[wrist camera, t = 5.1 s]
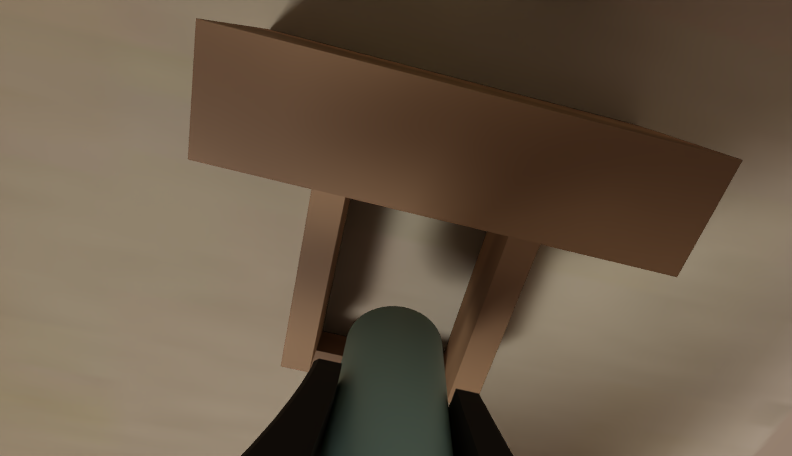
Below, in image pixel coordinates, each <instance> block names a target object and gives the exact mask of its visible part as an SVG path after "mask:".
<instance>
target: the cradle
mask: <svg viewBox="0 0 792 456" xmlns="http://www.w3.org/2000/svg"><path fill="white" fill-rule="evenodd" d="M188 159H189V160H193V161H197V162H201V163H205V164H209V165H213V166H218V167H222V168H226V169H230V170H234V171H238V172H243V173H247V174H251V175H255V176H259V177H263V178H267V179H272V180H276V181H280V182H284V183H288V184H292V185H297V186H301V187H305V188H309V189H312V190H311V196H310V201H309V207H308V213H307V219H306V224H305V230H304V236H303V242H302V247H301V253H300V259H299V265H298V270H297V276H296V282H295V288H294V293H293V299H292V305H291V310H290V316H289V322H288V328H287V333H286V339H285V345H284V351H283V356H282V362H281V366H282V367H287V368H292V369H296V370H301V371H305V372H309V370H310V368H311V366H312V364H313V362H314V361H315V360H317V359H324V360H329V361H333V362H338V363H341V361H342V357H343V353H344V348H345V344H346V340H347V337H346V336H341V335H337V334H332V333H328V332H323V331H322V330H323V325H324V321H325V316H326V311H327V307H328V302H329V297H330V292H331V288H332V283H333V278H334V274H335V269H336V264H337V259H338V255H339V250H340V245H341V241H342V236H343V231H344V226H345V222H346V217H347V212H348V208H349V203H350V198H351V199H355V200H359V201H363V202H367V203H371V204H375V205H380V206H384V207H388V208H392V209H396V210H400V211H405V212H409V213H413V214H417V215H421V216H425V217H429V218H434V219H438V220H442V221H446V222H450V223H454V224H459V225H463V226H467V227H471V228H475V229H479V230H483V231H487V233H486V236H485V238H484V241H483V244H482V247H481V250H480V253H479V256H478V258H477V261H476V264H475V267H474V270H473V273H472V275H471V278H470V281H469V284H468V287H467V290H466V292H465V295H464V298H463V301H462V304H461V307H460V310H459V312H458V315H457V318H456V321H455V324H454V327H453V329H452V332H451V335H450V338H449V341H448V344H447V347H446V349H445V352H444V355H443V357H444V367H445V377H446V387H447V397H448V402H449V403H451V400H452V397H453V395H454V392H455V389H461V390H466V391H470V392H475V393H479V394H480V391H481V389H482V386H483V384H484V381H485V379H486V376H487V374H488V372H489V369H490V367H491V364H492V362H493V359H494V357H495V354H496V352H497V350H498V347H499V345H500V342H501V340H502V337H503V335H504V332H505V330H506V328H507V325H508V323H509V320H510V318H511V315H512V313H513V310H514V308H515V305H516V303H517V301H518V298H519V296H520V293H521V291H522V288H523V286H524V283H525V281H526V279H527V276H528V274H529V271H530V269H531V266H532V264H533V261H534V259H535V257H536V254H537V252H538V249H539V247H540V244H542V245H546V246H550V247H554V248H558V249H562V250H567V251H571V252H575V253H579V254H583V255H587V256H592V257H596V258H600V259H604V260H608V261H612V262H616V263H621V264H625V265H629V266H633V267H637V268H641V269H646V270H650V271H654V272H658V273H662V274H666V275H670V276H675V277H677V276H678V275H679V273H680V271H681V269H682V267H683V266H684V264H685V262H686V260H687V258H688V257H689V255H690V253H691V251H692V250H693V248H694V246H695V244H696V242H697V241H698V239H699V237H700V235H701V234H702V232H703V230H704V228H705V226H706V225H707V223H708V221H709V219H710V217H711V216H712V214H713V212H714V210H715V209H716V207H717V205H718V203H719V201H720V200H721V198H722V196H723V194H724V192H725V191H726V189H727V187H728V185H729V184H730V182H731V180H732V178H733V176H734V175H735V173H736V171H737V169H738V168H739V166H740V164H741V162H742V160H741V159H738V158H735V157H732V156H729V155H726V154H723V153H720V152H717V151H714V150H711V149H708V148H705V147H702V146H699V145H696V144H693V143H690V142H687V141H684V140H681V139H677V138H674V137H671V136H668V135H665V134H662V133H659V132H656V131H653V130H650V129H647V128H644V127H641V126H638V125H634V124H631V123H627V122H623V121H619V120H615V119H611V118H608V117H604V116H600V115H596V114H592V113H588V112H585V111H581V110H577V109H573V108H569V107H565V106H561V105H558V104H554V103H550V102H546V101H542V100H538V99H535V98H531V97H527V96H523V95H519V94H515V93H512V92H508V91H504V90H500V89H496V88H492V87H488V86H485V85H481V84H477V83H473V82H469V81H465V80H462V79H458V78H454V77H450V76H446V75H442V74H439V73H435V72H431V71H427V70H423V69H419V68H415V67H412V66H408V65H404V64H400V63H396V62H392V61H389V60H385V59H381V58H377V57H373V56H369V55H366V54H362V53H358V52H354V51H350V50H346V49H342V48H339V47H335V46H331V45H327V44H323V43H319V42H316V41H312V40H308V39H304V38H300V37H296V36H293V35H289V34H285V33H281V32H277V31H273V30H269V29H263V28H257V27H250V26H243V25H237V24H230V23H224V22H217V21H210V20H204V19H197V18H196V28H195V46H194V63H193V81H192V98H191V116H190V133H189V150H188Z"/></svg>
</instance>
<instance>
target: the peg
mask: <svg viewBox="0 0 792 456" xmlns="http://www.w3.org/2000/svg"><path fill="white" fill-rule="evenodd" d="M341 363H342V367H341V371H340V376H339V380H338V385H337V389H336V393H335V397H334V401H333V405H332V410H331V414H330V417H329V421H328V424H327V427H326V430H325V435H324V439H323V443H322V447H321V452H320V456H453V447H452V437H451V427H450V417H449V407H448V397H447V387H446V377H445V367H444V357H443V347H442V340H441V336H440V334H439V332H438V330H437V328H436V327H435V325H434V324H433V323H432V322H431V321H430V320H429V319H428V318H427V317H425V316H424V315H422V314H421V313H419V312H417V311H415V310H412V309H409V308H405V307H398V306H387V307H381V308H377V309H374V310H371V311H369V312H367V313H365V314H364V315H362V316H361V317H360V318H359V319H357V320H356V321H355V323H354V324H353V325H352V327H351V328H350V330H349V333H348V335H347V340H346V344H345V348H344V353H343V357H342V361H341Z"/></svg>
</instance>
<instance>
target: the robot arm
mask: <svg viewBox="0 0 792 456" xmlns="http://www.w3.org/2000/svg"><path fill="white" fill-rule="evenodd" d="M341 367H342V363H338V362H333V361H329V360H324V359H317V360H315V361H314V362H313V364H312V366H311V368H310V370H309V372H308V373H307V375H306V377H305V378H304V380H303V381H302V383H301V384H300V386H299V387H298V389H297V390H296V392H295V393H294V394H293V396H292V397H291V398H290V400H289V401H288V402H287V403H286V405H285V406H284V407H283V409H282V410H281V411H280V412H279V414H278V415H277V416H276V417H275V419H274V420H273V421H272V422H271V423H270V424H269V426H268V427H267V428H266V429H265V430H264V431H263V432H262V433H261V435H260V436H259V437H258V438H257V439H256V440H255V441H254V442H253V444H252V445H251V446H250V447H249V448H248V449H247V450H246V451H245V452H244V453H243V454H242V455H241V456H320V452H321V447H322V443H323V439H324V435H325V430H326V427H327V424H328V421H329V417H330V414H331V410H332V405H333V401H334V397H335V393H336V389H337V385H338V380H339V376H340V371H341ZM449 417H450V427H451V437H452V447H453V456H513V454H512V453H511V451H510V449H509V447H508V446H507V444H506V442H505V440H504V439H503V437H502V435H501V433H500V431H499V430H498V428H497V426H496V424H495V422H494V421H493V419H492V417H491V415H490V413H489V411H488V410H487V408H486V406H485V404H484V402H483V400H482V399H481V397H480V395H479V393H475V392H470V391H466V390H461V389H455V392H454V395H453V397H452V400H451V403H450V405H449Z"/></svg>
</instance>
